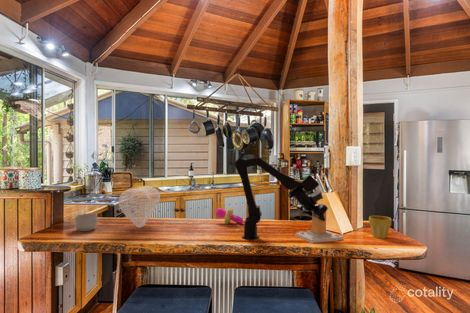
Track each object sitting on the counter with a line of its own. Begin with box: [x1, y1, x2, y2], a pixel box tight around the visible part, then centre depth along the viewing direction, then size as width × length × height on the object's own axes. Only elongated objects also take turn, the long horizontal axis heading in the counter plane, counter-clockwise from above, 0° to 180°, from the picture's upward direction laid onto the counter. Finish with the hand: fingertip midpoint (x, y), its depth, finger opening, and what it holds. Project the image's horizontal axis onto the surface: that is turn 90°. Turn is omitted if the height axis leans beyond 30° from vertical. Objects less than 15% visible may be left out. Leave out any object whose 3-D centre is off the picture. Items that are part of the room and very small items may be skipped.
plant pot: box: [368, 215, 392, 239], centre depth 158 cm, size 10×10×10 cm
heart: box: [118, 185, 161, 229], centre depth 172 cm, size 28×16×22 cm, turn 168°
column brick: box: [311, 211, 327, 234], centre depth 155 cm, size 5×5×13 cm
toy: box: [215, 207, 245, 225], centre depth 184 cm, size 10×18×10 cm, turn 74°
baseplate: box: [294, 230, 344, 244], centre depth 155 cm, size 18×14×3 cm
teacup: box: [74, 212, 98, 232], centre depth 167 cm, size 14×11×8 cm
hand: (321, 219), depth 156 cm, fingers closed on column brick, 5 cm apart
